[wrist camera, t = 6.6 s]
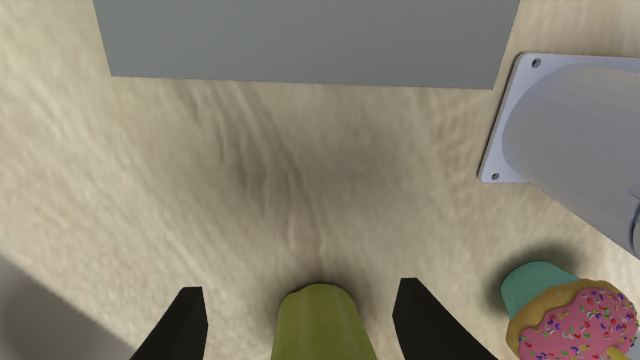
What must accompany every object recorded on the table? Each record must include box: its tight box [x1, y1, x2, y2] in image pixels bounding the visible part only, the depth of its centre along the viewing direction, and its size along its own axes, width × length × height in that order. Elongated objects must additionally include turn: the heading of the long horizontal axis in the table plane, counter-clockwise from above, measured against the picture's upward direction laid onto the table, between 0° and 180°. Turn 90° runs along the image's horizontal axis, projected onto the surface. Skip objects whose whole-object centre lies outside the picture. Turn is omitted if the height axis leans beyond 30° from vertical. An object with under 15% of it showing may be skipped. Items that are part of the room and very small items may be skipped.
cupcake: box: [501, 261, 640, 360], centre depth 22 cm, size 9×8×12 cm
